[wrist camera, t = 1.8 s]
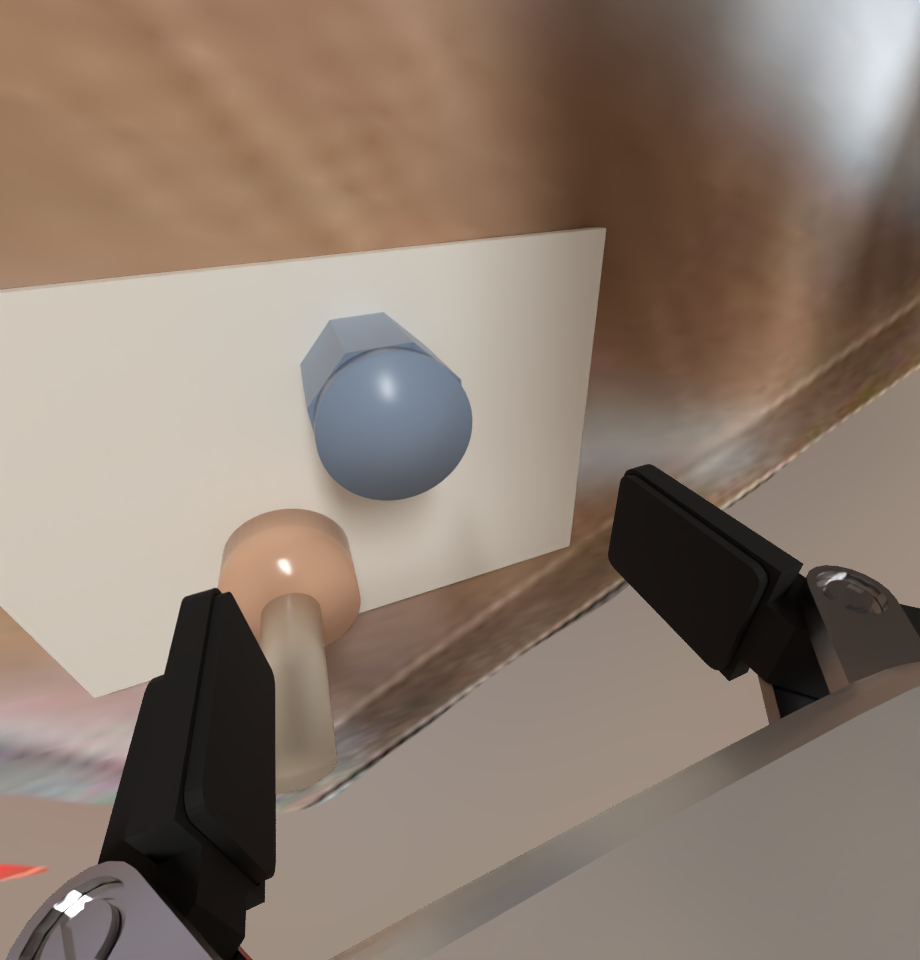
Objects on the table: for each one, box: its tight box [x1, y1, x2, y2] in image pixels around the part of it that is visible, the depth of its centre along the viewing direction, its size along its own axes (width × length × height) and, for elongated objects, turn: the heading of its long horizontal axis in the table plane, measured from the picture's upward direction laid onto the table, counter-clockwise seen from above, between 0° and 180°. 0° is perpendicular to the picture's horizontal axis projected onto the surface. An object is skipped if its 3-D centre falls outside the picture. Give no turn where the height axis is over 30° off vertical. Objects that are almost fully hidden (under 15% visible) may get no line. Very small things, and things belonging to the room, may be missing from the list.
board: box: [0, 227, 606, 698], centre depth 22 cm, size 30×20×1 cm, turn 93°
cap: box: [300, 312, 472, 501], centre depth 17 cm, size 6×6×6 cm
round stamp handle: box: [217, 509, 361, 794], centre depth 19 cm, size 6×6×11 cm
